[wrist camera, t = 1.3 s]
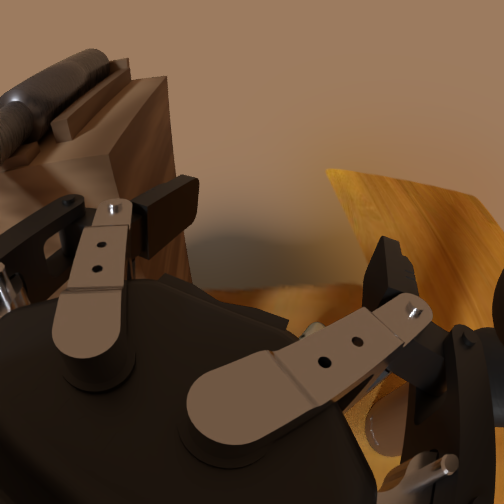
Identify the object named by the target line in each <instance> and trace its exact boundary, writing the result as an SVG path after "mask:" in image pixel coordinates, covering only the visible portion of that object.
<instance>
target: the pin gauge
mask: <svg viewBox="0 0 504 504" xmlns="http://www.w3.org/2000/svg"><path fill="white" fill-rule="evenodd" d="M109 71H110V64H109V60H108V58H107V56H106V55H105V54H104V53H103V52H101V51H99V50H97V49H86V50H84V51H82V52H79V53H77V54H75V55H72V56H70V57H68V58H66V59H64V60H62V61H60V62H58V63H56V64H54V65H52V66H50V67H48V68H46V69H44V70H43V71H41V72H39V73H37V74H35V75H34V76H32V77H30V78H28V79H27V80H25V81H24V82H22V83H20V84H19V85H17V86H15V87H14V88H12V89H10V90H9V91H7V92H6V93H4V94H3V95H2V96H1V97H0V167H1V165H2V164H3V163H4V162H5V161H6V160H7V159H8V158H9V157H10V156H11V154H12V153H13V152H14V151H15V150H16V149H17V148H18V147H19V146H21V145H25V144H29V143H33V142H38V141H39V140H40V139H41V138H42V137H43V136H44V135H45V134H46V133H47V132H48V131H49V130H50V129H51V128H52V126H51V122H52V121H53V120H54V119H55V118H56V117H58V116H59V115H60V114H61V113H62V112H63V111H64V110H66V109H67V108H68V107H69V106H70V105H72V104H73V103H74V102H75V101H76V100H78V99H79V98H80V97H81V96H83V95H84V94H85V93H87V92H88V91H89V90H90V89H92V88H93V87H94V86H96V85H97V84H98V83H100V82H101V81H103V80H104V79H105V78H107V77H108V75H109Z"/></svg>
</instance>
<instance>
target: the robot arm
mask: <svg viewBox="0 0 504 504" xmlns="http://www.w3.org/2000/svg"><path fill="white" fill-rule="evenodd" d="M198 194H199V180H198V178H195V177H190V176H186V175H180V176H178V177H176V178H174V179H172V180H170V181H168V182H167V183H162V184H159V185H157V186H155V187H153V188H152V189H150V190H148V191H146V192H145V193H142V194H140V195H139V196H137V197H135V198H133V199H132V200H130V201H129V200H126V199H120V198H116V199H109V200H106V201H104V202H102V203H100V204H99V205H98V207H97V209H96V208H86V207H85V200H84V197H83V196H82V195H79V194H69V195H65V196H62V197H60V198H58V199H56V200H54V201H53V202H51V203H49V204H48V205H46V206H44V207H43V208H41V209H39V210H38V211H36V212H34V213H33V214H31V215H30V216H28V217H26V218H25V219H23V220H22V221H20V222H19V223H17V224H16V225H14V226H13V227H11V228H10V229H8V230H7V231H5V232H4V233H2V234H1V235H0V504H494V493H495V475H496V445H495V427H504V269H503V271H502V273H501V275H500V277H499V279H498V282H497V285H496V288H495V292H494V297H493V304H492V317H493V323H494V328H490V327H486V328H480V329H477V330H474V331H473V330H472V329H470V328H469V327H467V326H465V325H461V324H458V325H455V326H454V327H453V328H452V330H451V331H450V332H447V331H446V330H444V329H442V328H441V327H439V326H437V325H436V324H434V323H433V322H432V321H431V320H432V318H433V313H432V310H431V308H430V307H429V305H428V304H427V303H426V302H425V301H424V300H423V299H421V298H420V297H419V293H418V288H417V283H416V281H415V280H416V278H415V275H414V269H413V265H412V264H411V262H410V261H409V259H408V258H407V257H406V256H403V255H402V254H401V249H400V244H399V241H396V240H393V239H390V238H388V237H385V236H381V238H380V240H379V242H378V244H377V247H376V249H375V251H374V254H373V256H372V258H371V260H370V263H369V265H368V267H367V270H366V273H365V276H364V281H363V298H362V308H360V309H358V310H357V311H355V312H353V313H351V314H349V315H347V316H346V317H344V318H342V319H340V320H338V321H336V322H334V323H333V324H331V325H329V326H327V327H325V328H323V329H321V330H319V331H317V332H315V333H313V334H311V335H309V336H307V337H305V338H303V339H301V340H300V339H299V338H297V337H296V336H295V335H293V334H292V333H291V332H289V331H287V330H286V328H287V325H288V322H289V320H288V319H285V318H282V317H279V316H277V315H274V314H271V313H268V312H265V311H263V310H260V309H257V308H252V307H246V306H240V305H235V304H229V303H224V302H220V301H218V300H216V299H215V298H213V297H212V296H210V295H209V294H207V293H206V292H204V291H203V290H201V289H199V288H198V287H196V286H195V285H193V284H192V283H189V282H187V281H184V280H182V279H179V278H177V277H174V276H172V275H169V274H167V273H164V274H163V275H162V276H161V277H160V278H159V279H158V280H154V279H136V260H135V258H136V257H137V256H140V257H142V258H145V259H147V260H150V259H151V258H152V257H153V256H155V255H156V254H157V253H158V252H159V251H160V250H161V249H163V248H164V247H165V246H166V245H167V244H168V243H170V242H171V241H172V240H173V239H174V238H175V237H177V236H178V235H179V234H180V233H181V232H182V231H184V230H185V229H186V228H187V227H188V226H190V225H191V224H192V223H193V221H194V219H195V217H196V214H197V206H198ZM57 232H59V237H60V242H61V248H60V249H59V250H57V251H56V252H55V253H53V254H52V255H51V256H50V257H48V258H47V259H46V258H45V254H44V245H45V242H46V241H47V240H48V239H49V238H50V237H52V236H53V235H54V234H56V233H57ZM68 280H69V281H68ZM67 281H68V285H67V288H66V290H62V291H61V293H60V296H59V297H58V298H54V299H50V300H47V299H48V298H49V297H50V296H51V295H52V294H54V293H55V292H56V291H57V290H58V289H59V288H60V287H61V286H62V285H63V284H64V283H66V282H67ZM391 373H394V374H396V375H397V376H399V377H401V378H402V379H404V380H406V381H407V382H406V383H405V384H403V385H402V386H400V387H399V388H397V389H396V390H394V391H393V392H391V393H389V394H388V395H386V396H385V397H383V398H382V399H380V400H379V401H378V402H376V403H375V404H374V405H373V407H372V408H371V410H370V411H369V413H368V416H367V419H366V424H365V432H366V437H367V440H368V442H369V444H370V445H371V447H372V448H373V449H374V450H375V451H376V452H378V453H379V454H382V455H384V456H390V457H394V456H401V461H400V465H399V466H397V467H395V468H393V469H392V470H391V471H390V472H389V473H388V474H387V475H386V477H385V479H384V482H383V484H382V486H381V488H380V490H379V491H378V492H377V485H376V480H375V478H374V475H373V473H372V470H371V468H370V466H369V464H368V462H367V460H366V458H365V456H364V454H363V452H362V450H361V448H360V446H359V444H358V442H357V440H356V438H355V436H354V434H353V432H352V430H351V428H350V426H349V424H348V422H347V420H346V418H345V416H344V414H345V413H346V412H347V411H348V410H349V409H350V408H352V407H353V406H354V405H355V404H356V403H357V402H358V401H359V400H360V399H362V398H363V397H364V396H365V395H366V394H368V393H369V392H370V391H371V390H372V389H374V388H375V387H376V386H377V385H378V384H379V383H381V382H382V381H383V380H384V379H385V378H386V377H387V376H389V375H390V374H391Z"/></svg>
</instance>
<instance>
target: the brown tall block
mask: <svg viewBox="0 0 504 504" xmlns="http://www.w3.org/2000/svg"><path fill="white" fill-rule="evenodd" d="M109 64H110V71H109V75H108V77H107V78H105V79H104V80H103V81H101V82H100V83H98V84H97V85H96V86H94V87H93V88H92V89H90V90H89V91H88V92H87V93H85V94H84V95H83V96H81V97H80V98H79V99H78V100H76V101H75V102H74V103H73V104H72V105H70V106H69V107H68V108H67V109H66V110H64V111H63V112H62V113H61V114H60V115H59V116H58V117H56V118H55V119H54V120H53V121H52V122H51V126H52V128H51V129H50V130H49V131H48V132H47V133H46V134H45V135H44V136H43V137H42V138H41V139H40V140H39V141H38V142H33V143H29V144H25V145H21V146H19V147H18V148H17V149H16V150H15V151H14V152H13V153H12V154H11V156H10V157H9V158H8V159H7V160H6V161H5V162H4V163H3V164H2V165H1V167H0V235H1V234H2V233H4V232H5V231H7V230H8V229H10V228H11V227H13V226H14V225H16V224H17V223H19V222H20V221H22V220H23V219H25V218H26V217H28V216H30V215H31V214H33V213H34V212H36V211H38V210H39V209H41V208H43V207H44V206H46V205H48V204H49V203H51V202H53V201H54V200H56V199H58V198H60V197H62V196H65V195H69V194H79V195H82V196H83V197H84V200H85V207H86V208H96V209H97V207H98V205H99V204H100V203H102V202H104V201H106V200H109V199H116V198H120V199H126V200H129V201H130V200H132V199H133V198H135V197H137V196H139V195H140V194H142V193H145V192H146V191H148V190H150V189H152V188H153V187H155V186H157V185H159V184H162V183H167V182H168V181H170V180H172V179H174V178H176V172H175V163H174V155H173V145H172V134H171V125H170V113H169V100H168V85H167V76H161V77H152V78H144V79H136V80H131V74H130V68H129V58H124V59H119V60H113V61H109ZM60 248H61V242H60V237H59V232H57V233H56V234H54V235H53V236H52V237H50V238H49V239H48V240H47V241H46V242H45V245H44V254H45V258H46V259H47V258H48V257H50V256H51V255H52V254H53V253H55V252H56V251H57V250H59V249H60ZM135 260H136V279H154V280H158V279H159V278H160V277H161V276H162V275H163V274H164V273H167V274H169V275H172V276H174V277H177V278H179V279H182V280H184V281H187V282H189V283H192V279H191V273H190V267H189V262H188V255H187V249H186V243H185V237H184V231H182V232H181V233H180V234H179V235H178V236H177V237H175V238H174V239H173V240H172V241H171V242H170V243H168V244H167V245H166V246H165V247H164V248H163V249H161V250H160V251H159V252H158V253H157V254H156V255H155V256H153V257H152V258H151V259H150V260H147V259H145V258H142V257H140V256H137V257H136V258H135ZM68 281H69V280H68ZM68 281H67V282H66V283H64V284H63V285H62V286H61V287H60V288H59V289H58V290H57V291H56V292H55V293H54V294H52V295H51V296H50V297H49V298H48V299H47V300H50V299H54V298H58V297H59V296H60V293H61V291H62V290H66V288H67V285H68Z"/></svg>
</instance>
